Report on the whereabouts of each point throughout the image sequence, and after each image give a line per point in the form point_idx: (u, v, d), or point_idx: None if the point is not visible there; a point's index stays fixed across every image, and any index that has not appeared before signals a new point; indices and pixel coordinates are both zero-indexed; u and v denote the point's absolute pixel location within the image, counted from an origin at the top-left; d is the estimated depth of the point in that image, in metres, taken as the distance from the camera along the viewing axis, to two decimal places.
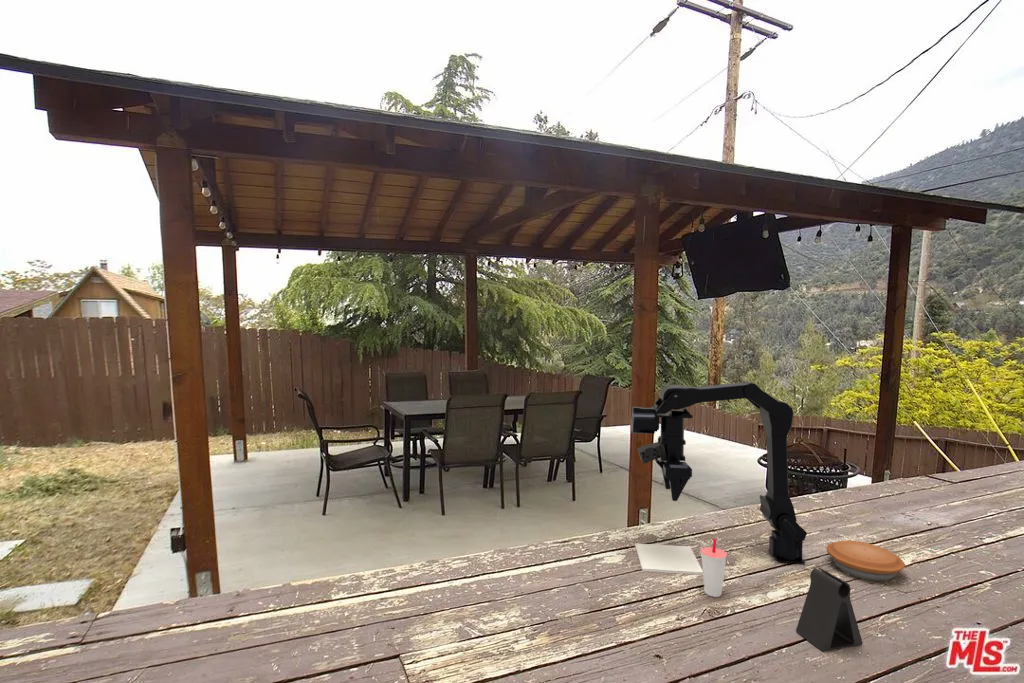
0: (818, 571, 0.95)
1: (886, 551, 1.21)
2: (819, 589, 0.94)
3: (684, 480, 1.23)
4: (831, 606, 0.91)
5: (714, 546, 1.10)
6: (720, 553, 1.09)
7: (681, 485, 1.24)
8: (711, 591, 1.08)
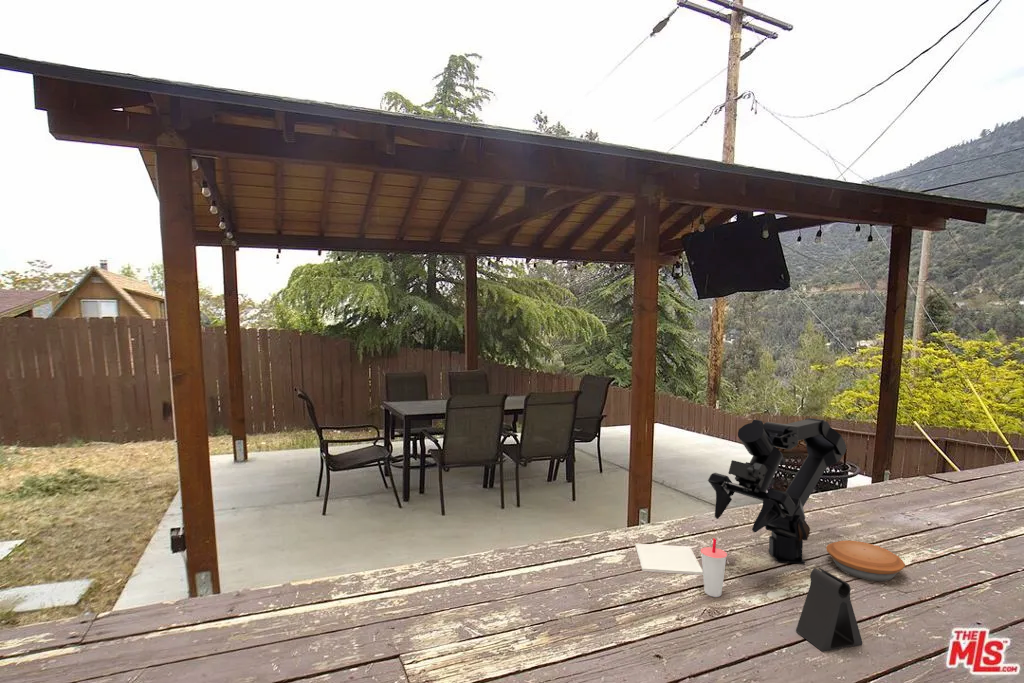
0: (818, 571, 0.95)
1: (886, 551, 1.21)
2: (819, 589, 0.94)
3: (775, 516, 1.12)
4: (831, 606, 0.91)
5: (714, 546, 1.10)
6: (720, 553, 1.09)
7: (770, 519, 1.11)
8: (711, 591, 1.08)
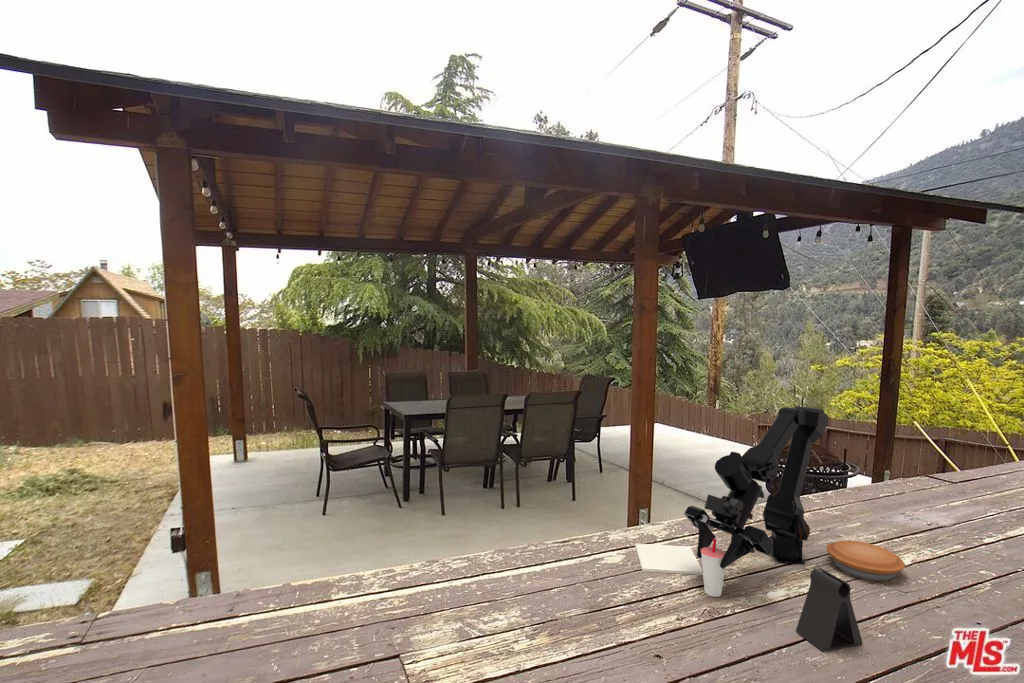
0: (818, 571, 0.95)
1: (886, 551, 1.21)
2: (819, 589, 0.94)
3: (744, 551, 1.08)
4: (831, 606, 0.91)
5: (714, 546, 1.10)
6: (720, 553, 1.09)
7: (738, 555, 1.08)
8: (711, 591, 1.08)
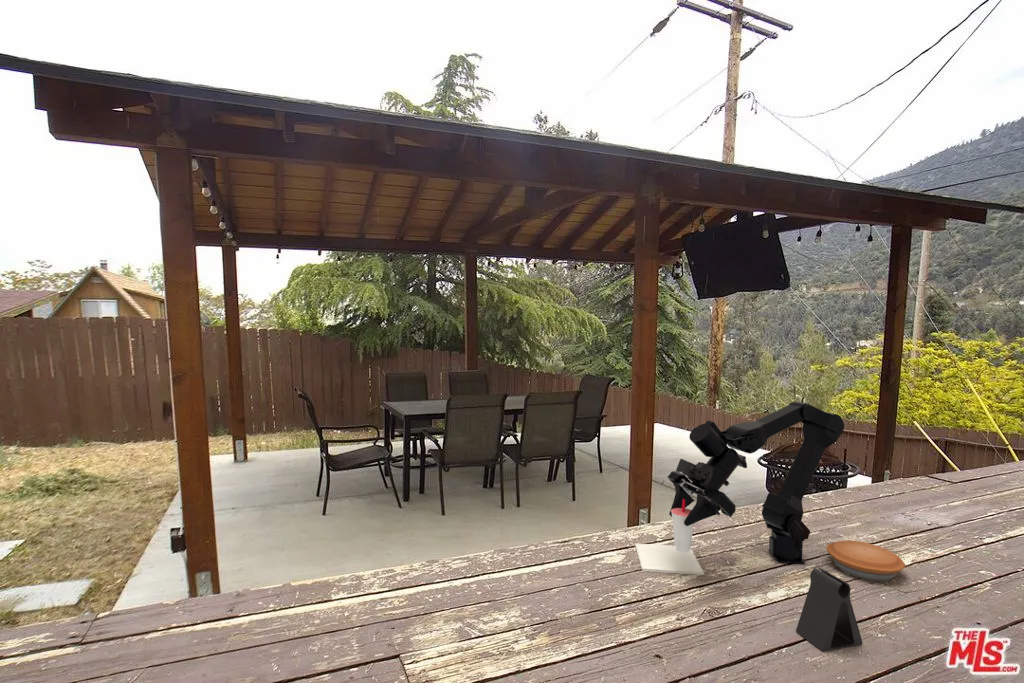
0: (818, 571, 0.95)
1: (886, 551, 1.21)
2: (819, 589, 0.94)
3: (710, 513, 1.15)
4: (831, 606, 0.91)
5: (683, 506, 1.18)
6: (688, 513, 1.17)
7: (704, 515, 1.15)
8: (678, 547, 1.17)
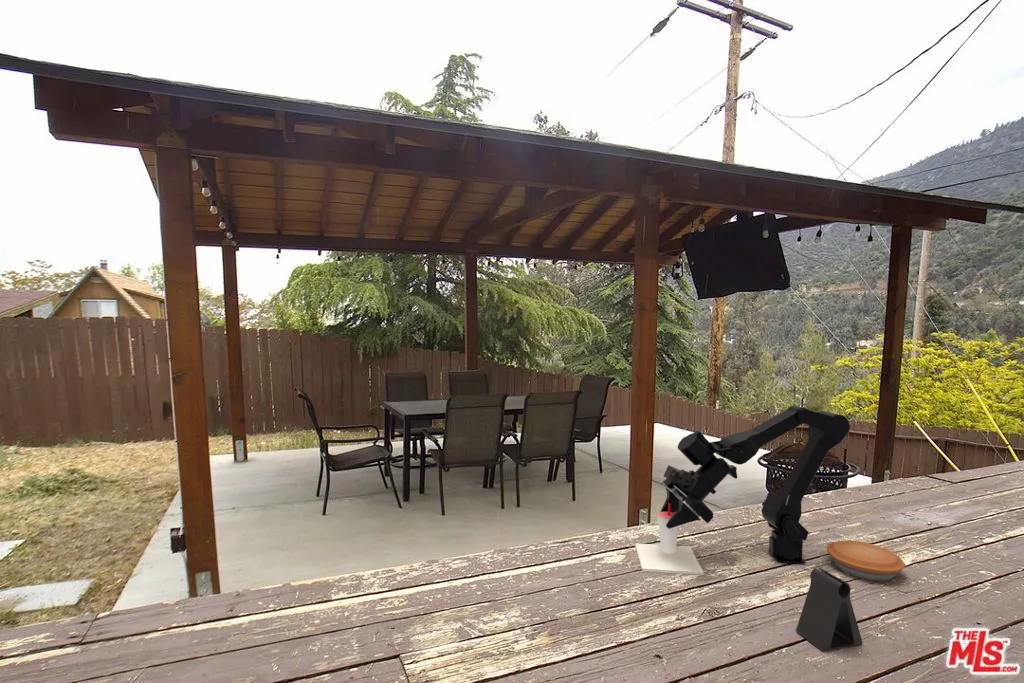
0: (818, 571, 0.95)
1: (886, 551, 1.21)
2: (819, 589, 0.94)
3: (692, 518, 1.21)
4: (831, 606, 0.91)
5: (668, 510, 1.25)
6: None
7: (685, 520, 1.21)
8: (662, 548, 1.25)
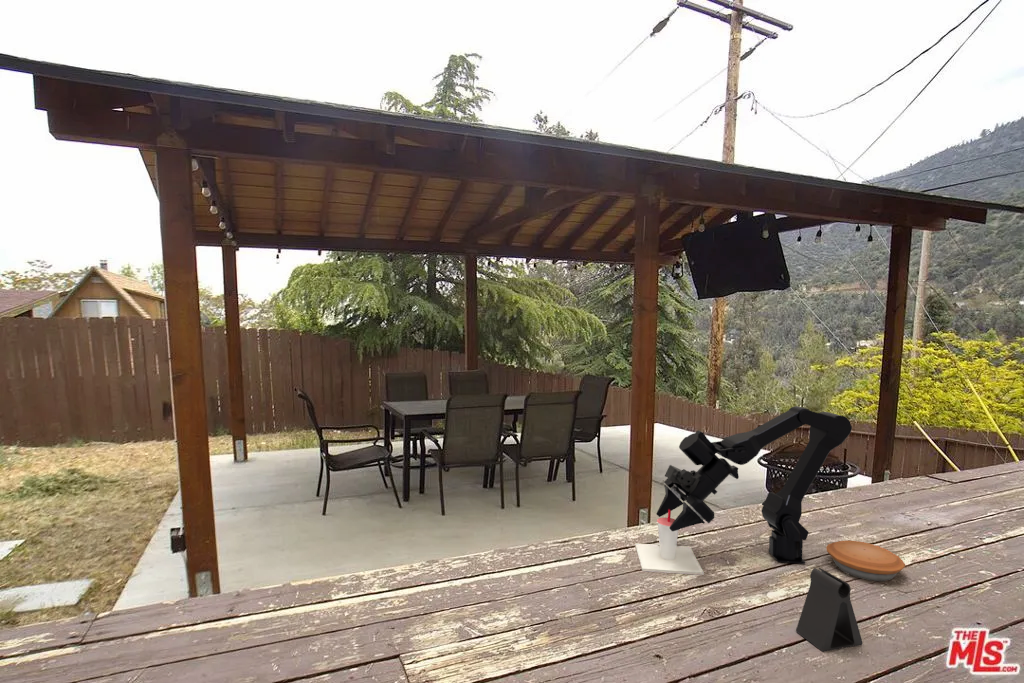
0: (818, 571, 0.95)
1: (886, 551, 1.21)
2: (819, 589, 0.94)
3: (696, 521, 1.19)
4: (831, 606, 0.91)
5: (668, 516, 1.25)
6: None
7: (689, 522, 1.20)
8: (662, 554, 1.25)
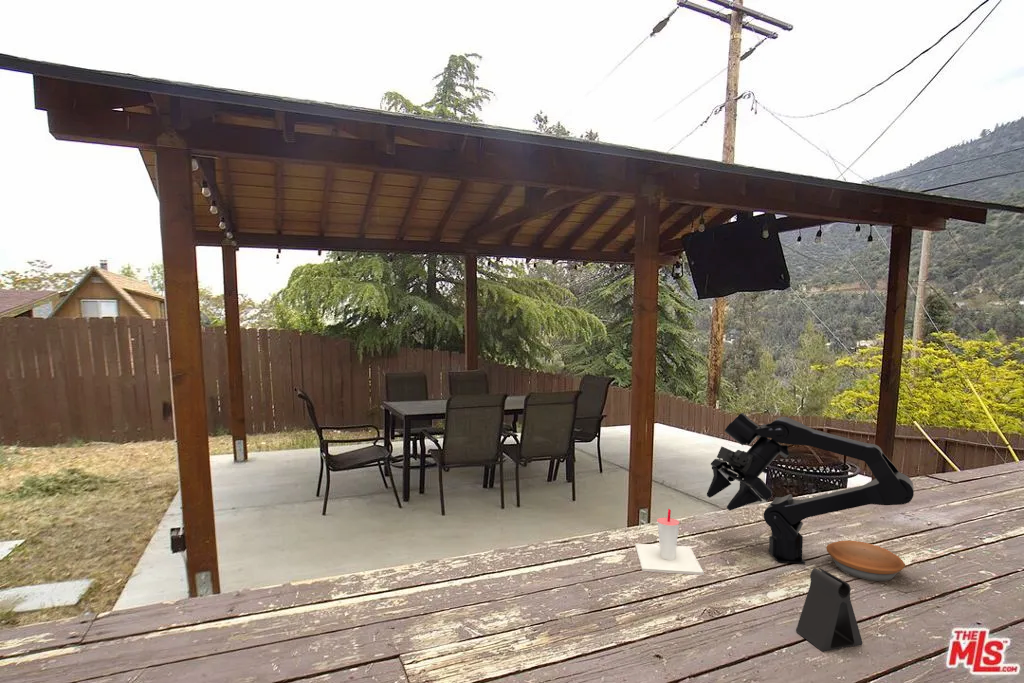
0: (818, 571, 0.95)
1: (886, 551, 1.21)
2: (819, 589, 0.94)
3: (753, 499, 1.22)
4: (831, 606, 0.91)
5: (668, 516, 1.25)
6: (672, 523, 1.24)
7: (746, 501, 1.23)
8: (662, 554, 1.25)
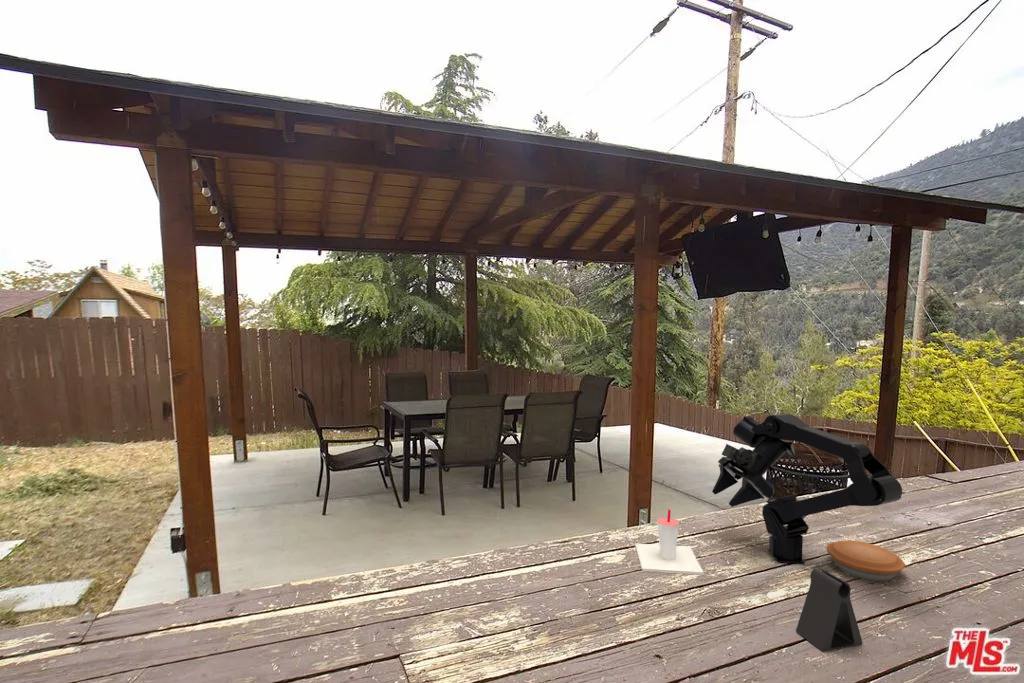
0: (818, 571, 0.95)
1: (886, 551, 1.21)
2: (819, 589, 0.94)
3: (755, 496, 1.24)
4: (831, 606, 0.91)
5: (668, 516, 1.25)
6: (672, 523, 1.24)
7: (748, 498, 1.24)
8: (662, 554, 1.25)
